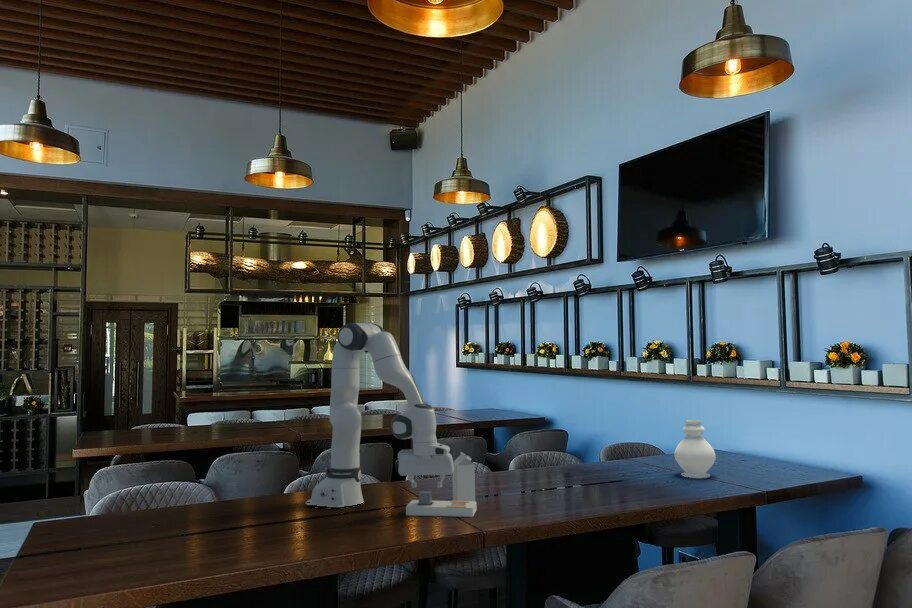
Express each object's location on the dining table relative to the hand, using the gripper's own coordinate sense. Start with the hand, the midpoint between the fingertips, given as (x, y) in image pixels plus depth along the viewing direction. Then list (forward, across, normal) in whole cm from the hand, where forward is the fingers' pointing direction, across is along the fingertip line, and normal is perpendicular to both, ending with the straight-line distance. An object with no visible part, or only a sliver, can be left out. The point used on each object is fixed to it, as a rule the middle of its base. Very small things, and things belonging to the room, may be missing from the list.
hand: (427, 487), depth 240 cm
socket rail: (+10, +5, 0) cm, 11 cm away
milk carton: (+11, +10, +20) cm, 25 cm away
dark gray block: (+9, -1, 0) cm, 9 cm away
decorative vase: (+15, +108, +82) cm, 137 cm away
